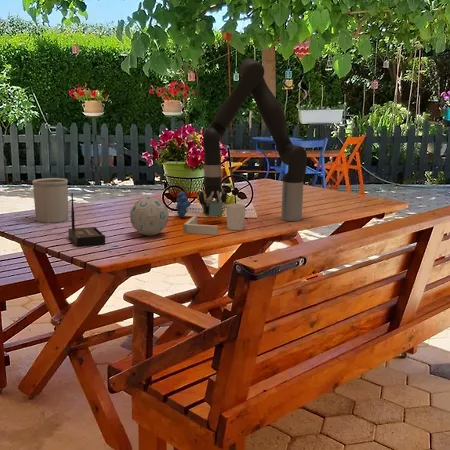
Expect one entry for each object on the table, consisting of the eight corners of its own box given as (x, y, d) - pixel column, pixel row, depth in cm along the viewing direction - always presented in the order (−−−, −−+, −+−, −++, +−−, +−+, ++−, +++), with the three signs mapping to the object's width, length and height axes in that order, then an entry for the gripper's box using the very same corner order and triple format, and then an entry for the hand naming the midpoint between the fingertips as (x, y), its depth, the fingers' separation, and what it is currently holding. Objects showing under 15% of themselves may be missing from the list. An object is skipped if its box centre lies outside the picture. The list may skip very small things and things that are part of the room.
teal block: (204, 214, 271) (204, 202, 269) (215, 212, 273) (214, 200, 272) (210, 216, 266) (210, 204, 265) (221, 215, 269) (221, 202, 268)
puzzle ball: (150, 228, 256) (149, 193, 253) (176, 234, 247) (176, 197, 243) (122, 235, 245) (121, 197, 241) (149, 241, 235) (148, 202, 232)
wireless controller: (110, 245, 230) (109, 200, 227) (72, 248, 225) (70, 202, 221) (97, 233, 248) (96, 191, 244) (62, 236, 242) (60, 193, 239)
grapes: (194, 219, 276) (194, 192, 273) (180, 220, 274) (180, 193, 271) (187, 214, 287) (187, 188, 284) (173, 214, 284) (173, 189, 282)
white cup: (223, 227, 261) (223, 204, 259) (240, 226, 264) (241, 203, 261) (230, 231, 254) (230, 207, 251) (247, 230, 256) (248, 206, 254)
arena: (193, 224, 266) (193, 216, 265) (225, 226, 263) (225, 218, 262) (183, 233, 250) (183, 224, 249) (217, 235, 247) (217, 226, 246)
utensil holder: (26, 221, 267) (24, 180, 264) (51, 215, 280) (49, 176, 276) (52, 224, 261) (50, 183, 257) (76, 218, 274) (75, 179, 270)
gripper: (202, 177, 259) (203, 217, 263) (231, 174, 266) (231, 213, 270) (193, 175, 265) (194, 213, 269) (222, 172, 273) (222, 210, 276)
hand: (213, 213), depth 270 cm, fingers closed on teal block, 5 cm apart
